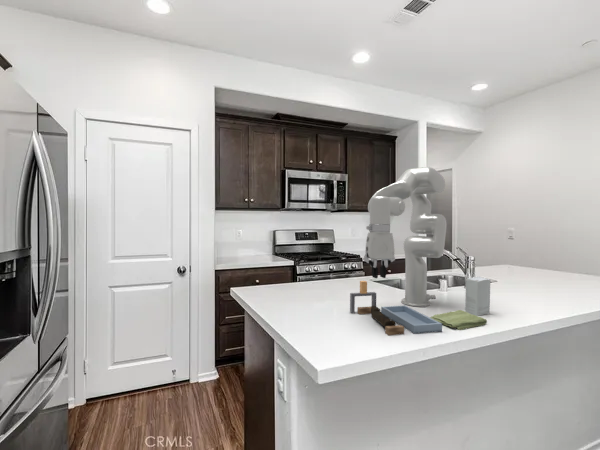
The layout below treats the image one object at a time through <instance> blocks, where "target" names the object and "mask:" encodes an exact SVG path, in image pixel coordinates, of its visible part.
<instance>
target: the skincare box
mask: <svg viewBox="0 0 600 450" xmlns="http://www.w3.org/2000/svg"><path fill="white" fill-rule="evenodd" d="M464 301H465V307H464V311H465V312H468V313H469V314H472V315H476V316H478V317H480V316H482V315H483V316H484V315H487V314H490V310H491V308H490V306H491V305H490V303H491V279H490V278H487V277H481V276H475V277H474V276H473V277H470V278H469V277H468V278H465V300H464Z"/></svg>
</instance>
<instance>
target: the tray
mask: <svg viewBox="0 0 600 450" xmlns="http://www.w3.org/2000/svg"><path fill="white" fill-rule="evenodd" d="M380 312H381V313H382V314H384V315H385V316H387V317H389V319H390V320H393V321H394V322H395V323H396V324H398V325H402V326H403V327H404V330H407V331H409V332H410V333H412V334H413V335H417V334H418V335H419V334H427V333H442V332H443V324H442V323H440V322H438V321H436V320H434V319H432V318H430V317H431V316H430V317H429V316H427V315H425V314H423V313H421V312H419V311H417V310H416V309H413V308H411V307H410V306H408V305H406V304H403V305H389V306H381V307H380Z"/></svg>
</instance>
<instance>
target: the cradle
mask: <svg viewBox="0 0 600 450" xmlns="http://www.w3.org/2000/svg"><path fill="white" fill-rule="evenodd" d="M357 314H358V315H371V306H358V307H357ZM384 328H385V329H384V330H385V331H384V332H385V334H386V335H387V336H394V335H405V328H404V327H403V326H402V325H399V324H398V325H396V326H385V327H384Z"/></svg>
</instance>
